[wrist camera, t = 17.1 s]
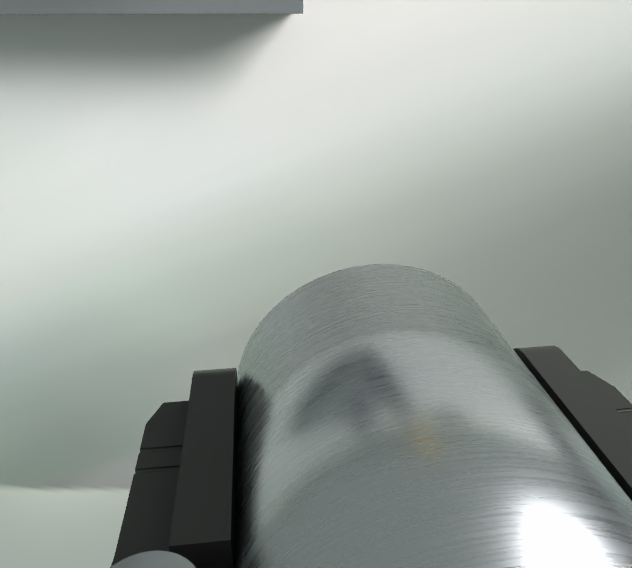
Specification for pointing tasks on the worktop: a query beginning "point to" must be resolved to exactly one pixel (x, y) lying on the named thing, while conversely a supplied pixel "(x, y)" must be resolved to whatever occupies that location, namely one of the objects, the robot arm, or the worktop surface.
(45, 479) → the worktop surface
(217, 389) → the robot arm
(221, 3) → the scale
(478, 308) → the cylinder
